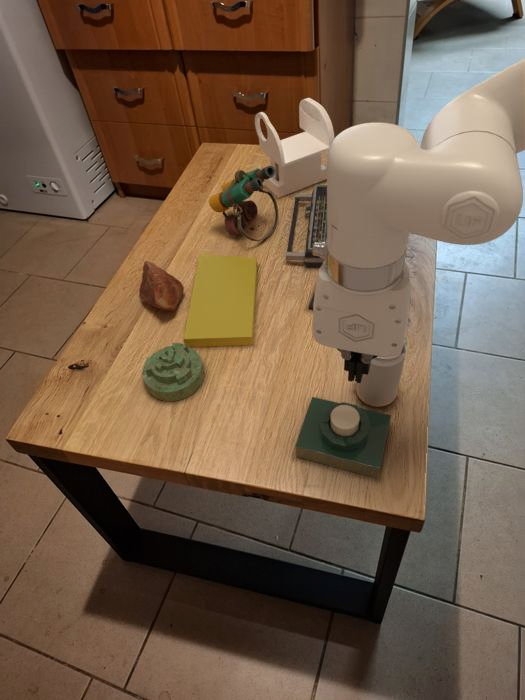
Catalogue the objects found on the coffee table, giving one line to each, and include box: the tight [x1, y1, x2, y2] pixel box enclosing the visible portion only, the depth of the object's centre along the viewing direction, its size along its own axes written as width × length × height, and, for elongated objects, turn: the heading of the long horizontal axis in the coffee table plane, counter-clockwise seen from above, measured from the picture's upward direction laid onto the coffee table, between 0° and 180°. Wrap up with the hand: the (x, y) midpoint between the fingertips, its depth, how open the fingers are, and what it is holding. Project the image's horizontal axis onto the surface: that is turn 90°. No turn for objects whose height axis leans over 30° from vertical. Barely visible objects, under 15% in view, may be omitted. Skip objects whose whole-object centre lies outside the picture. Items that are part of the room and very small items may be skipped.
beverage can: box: [355, 349, 407, 408], centre depth 72 cm, size 6×6×12 cm
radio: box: [285, 184, 327, 269], centre depth 103 cm, size 24×5×20 cm
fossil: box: [138, 260, 185, 311], centre depth 93 cm, size 13×8×10 cm
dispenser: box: [294, 396, 392, 479], centre depth 70 cm, size 12×9×5 cm
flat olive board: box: [183, 253, 259, 348], centre depth 93 cm, size 12×2×24 cm
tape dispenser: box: [254, 97, 335, 199], centre depth 113 cm, size 14×13×18 cm
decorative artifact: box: [141, 342, 205, 402], centre depth 80 cm, size 10×7×10 cm
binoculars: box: [208, 165, 279, 242], centre depth 103 cm, size 14×14×15 cm
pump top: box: [330, 405, 360, 437], centre depth 68 cm, size 4×4×2 cm
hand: (356, 373), depth 61 cm, fingers closed
